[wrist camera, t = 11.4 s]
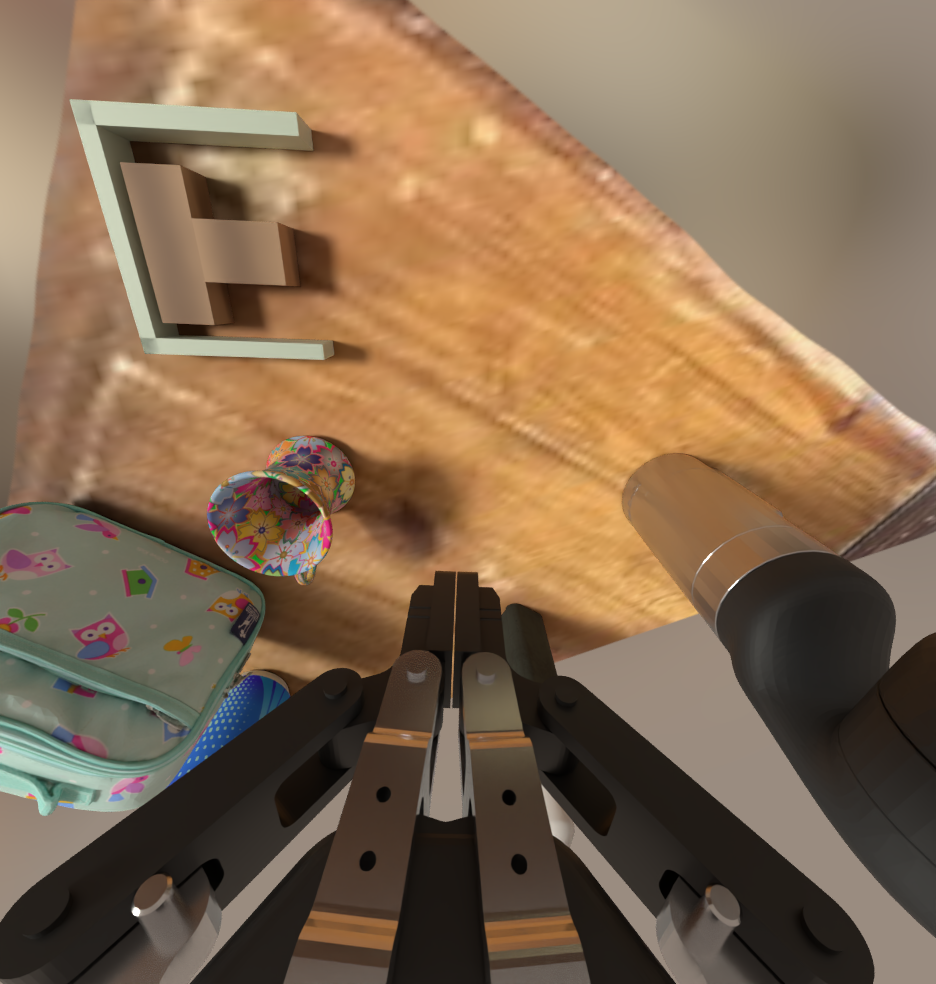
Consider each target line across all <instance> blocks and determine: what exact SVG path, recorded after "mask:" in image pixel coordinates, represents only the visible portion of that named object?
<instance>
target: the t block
mask: <svg viewBox="0 0 936 984" xmlns="http://www.w3.org/2000/svg"><path fill="white" fill-rule="evenodd" d="M120 165H121V169H122V173H123V176H124V180H125V184H126V187H127V191H128V195H129V199H130V202H131V206H132V210H133V214H134V217H135V221H136V225H137V229H138V232H139V236H140V240H141V244H142V247H143V251H144V255H145V259H146V262H147V266H148V270H149V274H150V277H151V281H152V285H153V289H154V292H155V296H156V300H157V304H158V307H159V311H160V315H161V319H162V322H163V323H177V324H201V325H220V324H229V323H234V319H233V314H232V309H231V303H230V298H229V293H228V288H227V283H234V284H256V285H279V286H300V278H299V270H298V262H297V254H296V246H295V238H294V230H293V228H290V227H288V226H285V225H283V224H280V223H278V222H259V221H238V220H217V219H214V217H213V212H212V207H211V202H210V196H209V191H208V186H207V181H206V177H204V176H202V175H200V174H198V173H196V172H194V171H191V170H189V169H187V168H185V167H183V166H181V165H166V164H146V163H126V162H120Z"/></svg>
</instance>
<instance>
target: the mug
mask: <svg viewBox="0 0 936 984" xmlns="http://www.w3.org/2000/svg"><path fill="white" fill-rule="evenodd" d="M354 486H355V476H354V471H353V468H352V466H351V464H350V462H349V460H348V459H347V457H346V456H345V455H344V454H343V452H342V451H341V450H339V449H338V448H337V447H336V446H334V445H333V444H331V443H330V442H328V441H326V440H323V439H320V438H317V437H312V436H297V437H292V438H289V439H286V440H284V441H282V442H281V443H279V444H278V445H277V446H276V447H275V448H274V449H273V450H272V452H271V454H270V455H269V458H268V461H267V465H266V469H265V470H263V471H249V472H244V473H240V474H237V475H234V476H232V477H230V478H228V479H227V480H225V481H224V482H223V483H222V484H220V485H219V486H218V487H217V489H216V490H215V491H214V493H213V494H212V496H211V498H210V501H209V504H208V510H207V519H208V525H209V528H210V531H211V533H212V536H213V537H214V539H215V541H216V542H217V544H218V545H219V547H220V548H221V549H222V550H223V551H224V552H225V553H226V554H227V555H228V556H229V557H230V558H231V559H233V560H234V561H235V562H237V563H238V564H240V565H242V566H244V567H246V568H248V569H250V570H252V571H255V572H258V573H261V574H265V575H271V576H291V575H294V576H295V579H296V580H297V582H298V583H299V584H301V585H309V584H310V583H311V582H312V581H313V579H314V576H315V572H316V567H317V564H319V563H320V562H321V561H322V560H323V558H324V557H325V556H326V554H327V553H328V551H329V549H330V546H331V542H332V536H333V529H332V523H331V519H330V514H331V513H334V512H336V511H338V510H339V509H341V508H342V507H344V506H345V505H346V504H347V502H348V501H349V500H350V498H351V496H352V494H353V491H354ZM306 571H308V572H307V576H306V578H304V575H303V572H306Z"/></svg>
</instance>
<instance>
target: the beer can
mask: <svg viewBox="0 0 936 984" xmlns="http://www.w3.org/2000/svg"><path fill="white" fill-rule="evenodd" d="M249 672H253V673H252V674H251V675H250V676H248V677H247V678H246V679H245V680H243V681H242V682H241V683H240V684H239V685H237V686H236V687H235V688H233V689H230V691H229V693H228V695H229V696H228V698H225V700H224V701H223V703H222V705H221V706H220V708H219V709H218V711H217V713H216V714H215V716H214V717H213V719H212V720H211V722H210V724H209V725H208V727H207V729H206V730H205V732H204V733H203V735H202V736H201V738H200V739H199V741H198V743H197V744H196V746H195V747H194V749H193V750H192V752H191V753H190V755H189V757H188V758H187V760H186V761H185V763H184V764H183V766H182V767H181V769H180V771H179V772H178V773H177V775H176V776H175V778H174V779H173V780H172V782H171V783H170V784H169V785H168V786H170V785H171V784H172V783H174V782H175V781H177V780H178V779H179V778H181V777H182V776H183V775H185V774H186V773H187V772H189V771H190V770H192V769H193V768H194V767H196V766H197V765H198V764H200V763H201V762H203V761H204V760H205V759H207V758H208V757H209V756H211V755H212V754H213V753H215V752H216V751H218V750H219V749H220V748H222V747H223V746H224V745H226V744H227V743H228V742H230V741H231V740H233V739H234V738H235V737H237V736H238V735H239V734H241V733H242V732H244V731H245V730H246V729H248V728H249V727H250V726H252V725H253V724H254V723H256V722H257V721H259V720H260V719H261V718H263V717H264V716H265V715H267V714H268V713H269V712H271V711H272V710H274V709H275V708H276V707H278V706H279V705H280V704H282V703H283V702H284V701H286V700H287V699H289V698H290V694H289V689H288V686H287V684H286V683H285V682H284V680H283V679H281V678H280V677H279V676H277V675H275V674H273V673H270V672H267V671H261V670H253V671H248V672H245V673H243V674H241V675H242V676H246V675H247V674H248V673H249ZM168 786H167V787H168ZM167 787H166V788H167ZM166 788H165V789H166Z"/></svg>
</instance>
